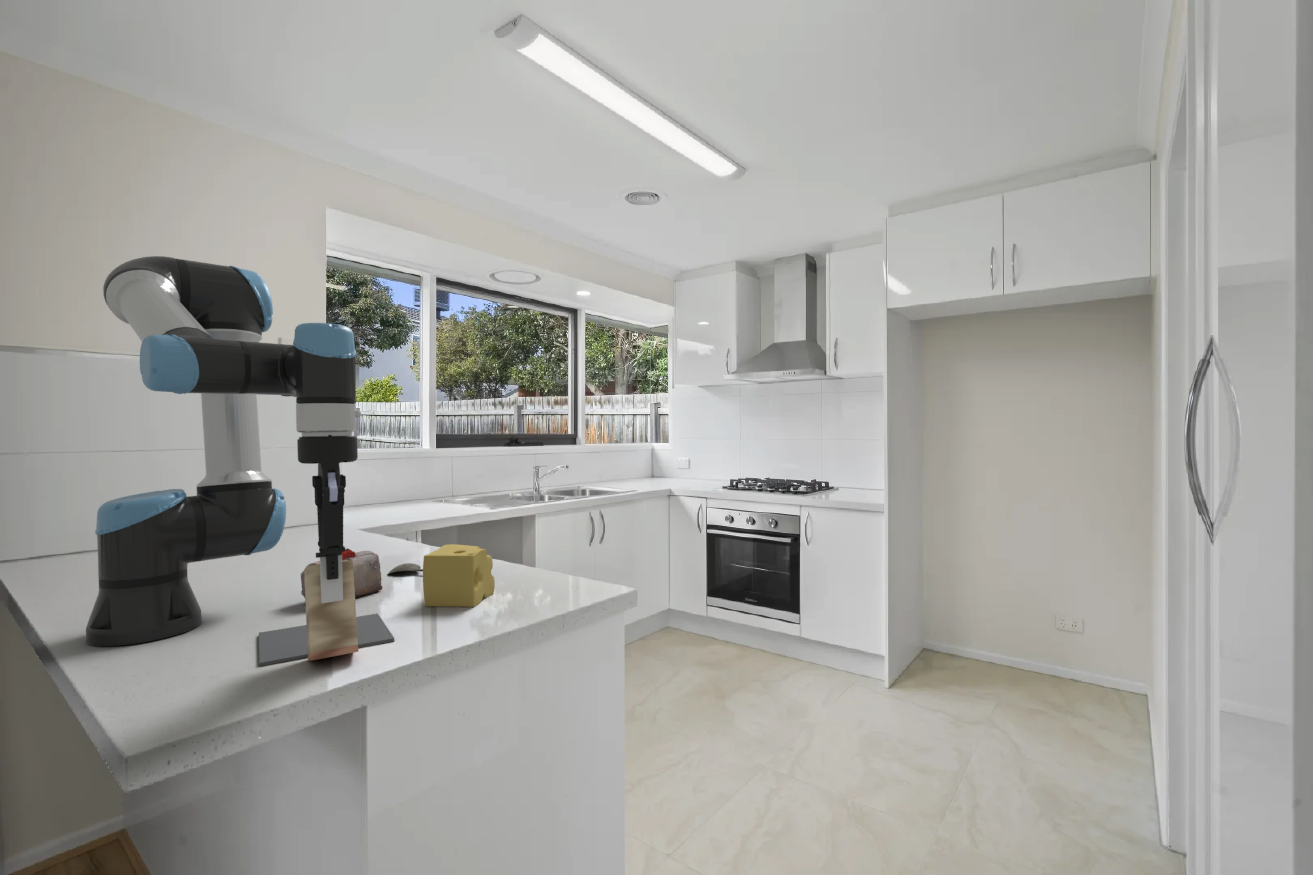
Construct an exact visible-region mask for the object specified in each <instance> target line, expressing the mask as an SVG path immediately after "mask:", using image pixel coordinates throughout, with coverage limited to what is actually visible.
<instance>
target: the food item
mask: <svg viewBox="0 0 1313 875" xmlns="http://www.w3.org/2000/svg"><path fill="white" fill-rule="evenodd" d="M344 561H353V573H354V589H355V599H356V598H358V597H363V596H367V595H369V594H374V593H378V592H380V591H382V590H383V585H382V571H381V563H380V558H379V555H378V554H377V553H375V552H374V551H372V550H362V551H357V552H355V551H354V550H351V549H350V548H345V551H344V552H343V553H342V562H344ZM319 564H320V560H318V561H314V562H310V563H309V564H307V566H311V565H319ZM300 582H301V592H300V594H301V595H302V596H303V597H304V598H305V580H304V570H303V571H301V573H300Z"/></svg>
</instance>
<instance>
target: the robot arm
mask: <svg viewBox="0 0 1313 875" xmlns="http://www.w3.org/2000/svg"><path fill="white" fill-rule="evenodd" d="M102 287H103V288H102V292H103V295H102V296H103V298H104V301H105V304H106V305H107V307H108V308H109V310H110V311H111V313H113V315H114V316H115V317H116V318H117V319H119V320H120V321H122V322H123V323H125V324H127V325H129V326H130V327H131V329H133V331H134V332H135V334H136V335H137V337H138V338H139V340H140V341H141V345H140V350H139V371H140V372H139V373H140V376H141V380H142V382H143V385H144V386H145V387H146V388H147V389H148V390H150V391H152V392H164V393H174V394H178V395H182V394H184V395H185V394H200V398H201V413H202V426H203V430H202V432H203V445H204V447H203V448H204V461H205V462H204V463H205V464H204V465H205V475H204V477H203V478H202V479H201V481H199V483H197V484H196V495H191V496H189V495H188V496H187V493H186V492H185V490H184V489H182V488H171V489H169V488H168V489H163V490H154V491H148V492H141V493H136V494H131V495H126V496H122V497H121V496H120V497H118V498H114V499H111V500H109V501H106V502H104V503H103V504H101V505H100V506H99V507H98V510H97V511H96V512H97V513H96V529H95V531H94V533H95V535H96V536H97V538H96V539H97V541H96V542H97V544H96V545H97V570H98V577H97V578H98V593H97V597H96V599H95V601H94V602H95V603H94V605H93V608H92V610H91V613H90V616H89V618H88V621H87V624H86V626H85V642H86V643H87V644H88V645H91V646H97V647H113V646H114V647H116V646H126V645H135V644H142V643H147V642H153V641H157V640H161V639H166V638H170V637H174V636H177V635H181V634H182V633H183V634H184V633H186V632H188V631H191V630H193V629H195V628H197V627H199V626H200V625H201V624H202V609H201V606H200V604H199V602H198V600H197V597H196V594H195V593H194V591H193V589H192V587H191V584H190V582H189V577H188V564H190V563H196V562H204V561H209V560H210V561H211V560H216V559H217V560H219V559H225V558H232V557H238V556H251V555H252V554H257V553H261V552H267V551H270V550H271V549H273V548H275V546H277V545H278V544H279V542H280V540H281V537H282V536H283V533H284V530H285V527H286V526H285V525H286V519H287V504H286V500H285V496H284V493H283V492H282V491H281V490H280V489H276V488H275V487H274V488H273V482H272V478H270V477H268V476H267V475H266V474H265V473H263V471H262V459H261V447H260V446H261V445H260V432H259V431H260V428H259V414H258V413H259V412H258V400H257V398H258V397H257V395H261V396H262V395H266V396H267V395H268V396H269V395H270V396H271V395H273V396H281V397H293V398H296V399H295V400H296V401H295V402H296V403H295V414H296V415H295V418H296V419H295V421H296V423H295V425H296V432H298V433H301V436H299V437H298V439H297V442H296V443H297V444H296V445H297V461H298V462H299V463H300V464H305V465H308V464H309V465H312V464H317V475H312V476H311V477H312V479H311V481H312V482H311V483H312V487H313V489H314V505H315V506H316V510H317V512H316V514H317V534H318V541H317V545H318V552H315V558H316V559H319V561H320V585H321V603H328V602H335V601H342V600H343V572H342V553H343V552H344V551H345V550H346V546H344V506H345V492H346V489H345V488H346V487H347V486H346V485H347V480H346V477H347V476H346V475H344V474H341V468H340V464H341V463H353V462H356V461H357V460H358V459H359V458H358V456H359V454H358V438H357V437H356V435H353V432H356V431H357V429H358V428H357V420H356V418H361V416H362V412H361V411H360V410H356V408H357V407H356V404H357V399H356V398H357V395H356V394H357V391H356V390H357V389H356V388H357V387H356V383H357V382H356V381H357V380H356V378H357V377H356V374H357V373H356V372H357V370H356V369H357V368H356V356H357V350H356V346H355V337H354V336H355V335H354V332H353V330H352V329H351V328H350V327H348V326H345V325H343V324H337V323H330V322H329V323H327V322H304V323H300V324H298V325H297V326H296V327H295V329H294V338H293V341H292V344H285V343H282V344H281V343H272V342H271V343H269V342H261V341H262V340H263V334H262V333H265V332H268V331H269V330H270V328H271V327H272V324H273V314H274V307H273V300H272V295H271V292H270V289H269V286H268V285H267V282H266V281H265V280H264V279H263V277H262V276H261V275H260V274H258V273H257V272H256V271H253V270H249V269H244V268H239V267H236V266H234V265H222V264H221V265H220V264H215V263H209V262H208V263H207V262H200V261H195V260H190V259H189V260H188V259H180V258H176V257H175V258H174V257H170V256H164V255H163V256H162V255H159V256H157V255H155V256H153V255H151V256H142V257H139V258H134V259H131V260H129V261H125V262H123V263H121V264H119V265H118V266H117V267H115V268H114V269H113V270H111V271H110V273H109V274H108V275H107V277H106V278H105V280H104V283H103V286H102Z"/></svg>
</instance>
